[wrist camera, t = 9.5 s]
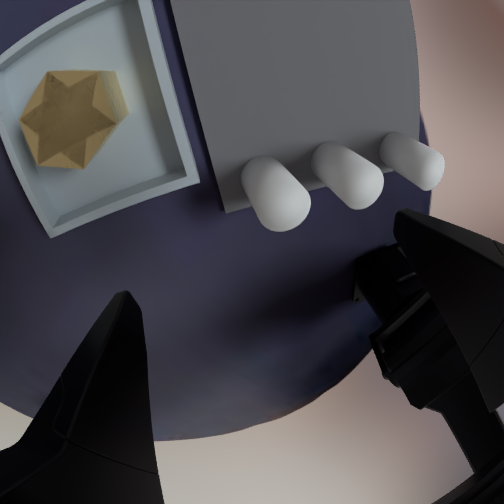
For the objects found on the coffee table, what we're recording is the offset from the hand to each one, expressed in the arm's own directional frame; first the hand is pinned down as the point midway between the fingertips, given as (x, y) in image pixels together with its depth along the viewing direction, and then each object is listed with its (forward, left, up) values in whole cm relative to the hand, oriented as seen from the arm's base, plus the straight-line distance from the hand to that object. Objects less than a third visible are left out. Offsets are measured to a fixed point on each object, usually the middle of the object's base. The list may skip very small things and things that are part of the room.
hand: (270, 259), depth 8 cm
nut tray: (+6, +7, -11) cm, 14 cm away
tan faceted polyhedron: (+6, +7, -11) cm, 14 cm away
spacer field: (+6, -7, -11) cm, 14 cm away
